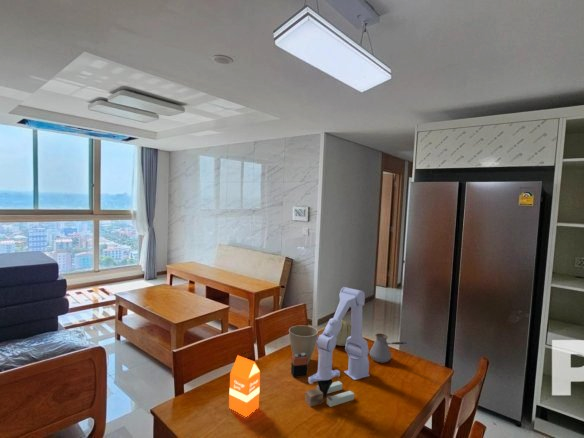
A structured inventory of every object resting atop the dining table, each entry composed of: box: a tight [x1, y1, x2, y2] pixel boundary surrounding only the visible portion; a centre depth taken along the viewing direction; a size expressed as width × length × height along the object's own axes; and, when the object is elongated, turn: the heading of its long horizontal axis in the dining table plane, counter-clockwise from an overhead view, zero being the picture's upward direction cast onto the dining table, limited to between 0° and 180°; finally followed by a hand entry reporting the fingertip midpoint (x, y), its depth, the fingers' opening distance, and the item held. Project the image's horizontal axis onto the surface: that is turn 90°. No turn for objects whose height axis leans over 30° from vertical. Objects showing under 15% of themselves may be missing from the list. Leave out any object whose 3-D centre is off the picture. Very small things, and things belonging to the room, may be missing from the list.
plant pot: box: [288, 324, 319, 364], centre depth 162 cm, size 15×15×16 cm
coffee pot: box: [368, 333, 409, 364], centre depth 164 cm, size 21×12×15 cm, turn 34°
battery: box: [290, 353, 309, 378], centre depth 149 cm, size 4×7×10 cm, turn 108°
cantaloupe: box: [336, 318, 351, 347], centre depth 184 cm, size 15×15×15 cm
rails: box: [315, 380, 355, 408], centre depth 133 cm, size 12×10×3 cm
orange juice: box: [228, 354, 261, 418], centre depth 122 cm, size 8×9×20 cm
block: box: [304, 387, 324, 408], centre depth 129 cm, size 6×4×4 cm, turn 119°
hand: (323, 396), depth 131 cm, fingers closed
